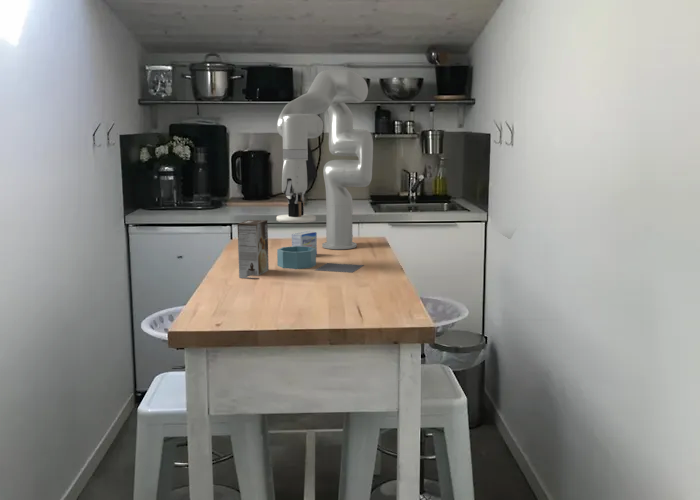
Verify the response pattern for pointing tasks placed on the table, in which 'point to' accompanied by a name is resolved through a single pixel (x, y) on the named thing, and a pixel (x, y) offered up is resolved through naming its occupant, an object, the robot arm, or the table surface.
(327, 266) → the mat
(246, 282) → the table surface
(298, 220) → the lid
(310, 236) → the medicine box
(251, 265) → the coffee box
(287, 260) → the pot
